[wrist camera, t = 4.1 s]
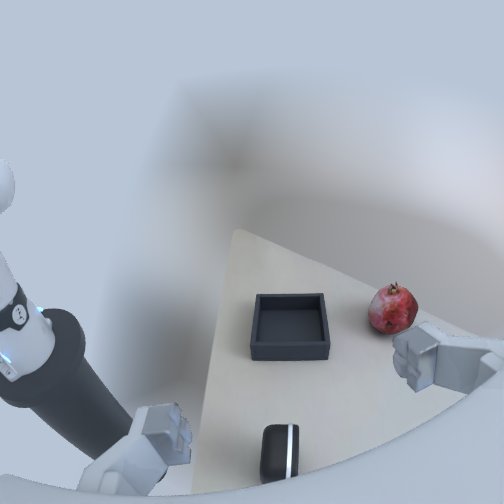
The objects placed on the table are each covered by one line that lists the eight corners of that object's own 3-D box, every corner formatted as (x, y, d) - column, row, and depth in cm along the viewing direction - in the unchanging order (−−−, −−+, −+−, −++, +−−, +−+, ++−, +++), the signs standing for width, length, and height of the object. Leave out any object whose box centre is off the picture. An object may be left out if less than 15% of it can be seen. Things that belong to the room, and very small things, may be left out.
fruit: (418, 324, 48) (433, 283, 43) (392, 351, 44) (408, 309, 39) (384, 301, 55) (394, 261, 50) (355, 324, 51) (364, 282, 45)
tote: (252, 360, 46) (250, 345, 44) (257, 309, 57) (256, 294, 55) (327, 359, 45) (330, 344, 43) (321, 308, 55) (323, 293, 53)
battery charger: (266, 450, 32) (262, 417, 26) (294, 450, 32) (299, 417, 26) (262, 495, 26) (256, 478, 20) (292, 495, 26) (298, 479, 20)
